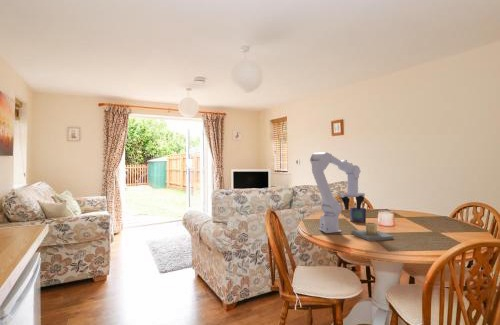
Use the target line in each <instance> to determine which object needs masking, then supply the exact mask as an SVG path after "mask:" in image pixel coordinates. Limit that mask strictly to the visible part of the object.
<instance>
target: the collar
mask: <svg viewBox="0 0 500 325" xmlns="http://www.w3.org/2000/svg"><path fill="white" fill-rule="evenodd" d="M365 230H366V234H370V235H376V234H377V230H378V224H377V223H375V222H368V221H367V222H366V223H365Z"/></svg>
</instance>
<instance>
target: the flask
mask: <svg viewBox="0 0 500 325" xmlns="http://www.w3.org/2000/svg"><path fill="white" fill-rule="evenodd" d="M349 208H350V210H349V222H352V223H353V222H354V223H365V222H366V223H367V221H366V219H367V217H366V216H367V215H366V214H367V211H366V208H365V207H363V206H361V207H360V209H357V204H356V206H355V207H354V206H352V207H349ZM366 223H365V224H366Z"/></svg>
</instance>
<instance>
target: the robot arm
mask: <svg viewBox="0 0 500 325" xmlns="http://www.w3.org/2000/svg"><path fill="white" fill-rule="evenodd" d="M309 162H310V165H311V172H312V175H313V177H314V180H315V183H316V186H317V188H318V190H319V193H320V195H321V198H322V200H321V202H320V204H321V210H322V212H323V215H321V216H320V217H319V230H320V231H321V232H324V233H326V234H330V233H342V230H341V229H339V216H340V215H341V213H342V210H343V207H342V205H341V204H340V203H339V201H338V200H337V199H336V198H335V197H334V196H333V194H332V190H331V188H330V186H329V182H328V180H327V178H326V175H325V172H324V171H325V170H326V169H327V168H328V166H329V164H332V165H334V166H337V167H338V170H340V171H343V172H344V173H345V174H346V175H347V192H346V193H340V199H341V200H342V203H343V206H344V210H346V211H349V208H350V207H349V205H350V200H351V199H350V198H355V200H356V201H355V202H356V205H357V209H360V208H362V204H363V202H364V200H365V195H366V194H365V192H359V178H360V175H361V174H360V173H361V168H360V166H359V165H356V164H355V165H354V164H353V163H352V162H348V160H347V159H342V160H340V159H339V158H337V157H336V156H334V155H333V154H331V153H330V152H327V151H325V152H313V153H312V154H311V155H310V158H309Z"/></svg>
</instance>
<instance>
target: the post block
mask: <svg viewBox="0 0 500 325" xmlns="http://www.w3.org/2000/svg"><path fill="white" fill-rule="evenodd" d="M350 232H351V233H350V234H351V235H353V236H356V237H358V238H361V239H363V240H364V241H367V242H374V241H375V242H376V241H387V240H394V235H392V234H388V233H387V232H383V231H380V230H378V229H377V234H376V235H370V234H366V229H360V230H350Z"/></svg>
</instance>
